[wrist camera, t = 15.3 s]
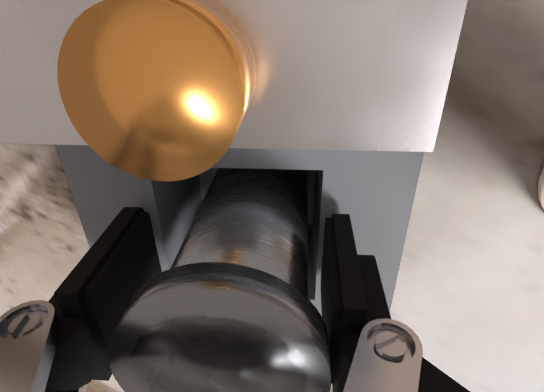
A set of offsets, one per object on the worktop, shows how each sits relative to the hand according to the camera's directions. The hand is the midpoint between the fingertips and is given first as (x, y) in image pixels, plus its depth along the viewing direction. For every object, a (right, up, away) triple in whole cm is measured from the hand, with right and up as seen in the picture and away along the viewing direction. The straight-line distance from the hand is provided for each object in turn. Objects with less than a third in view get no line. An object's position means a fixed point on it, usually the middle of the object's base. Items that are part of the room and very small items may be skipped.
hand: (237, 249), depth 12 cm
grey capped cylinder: (+1, +3, +5) cm, 5 cm away
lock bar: (0, +6, -3) cm, 6 cm away
